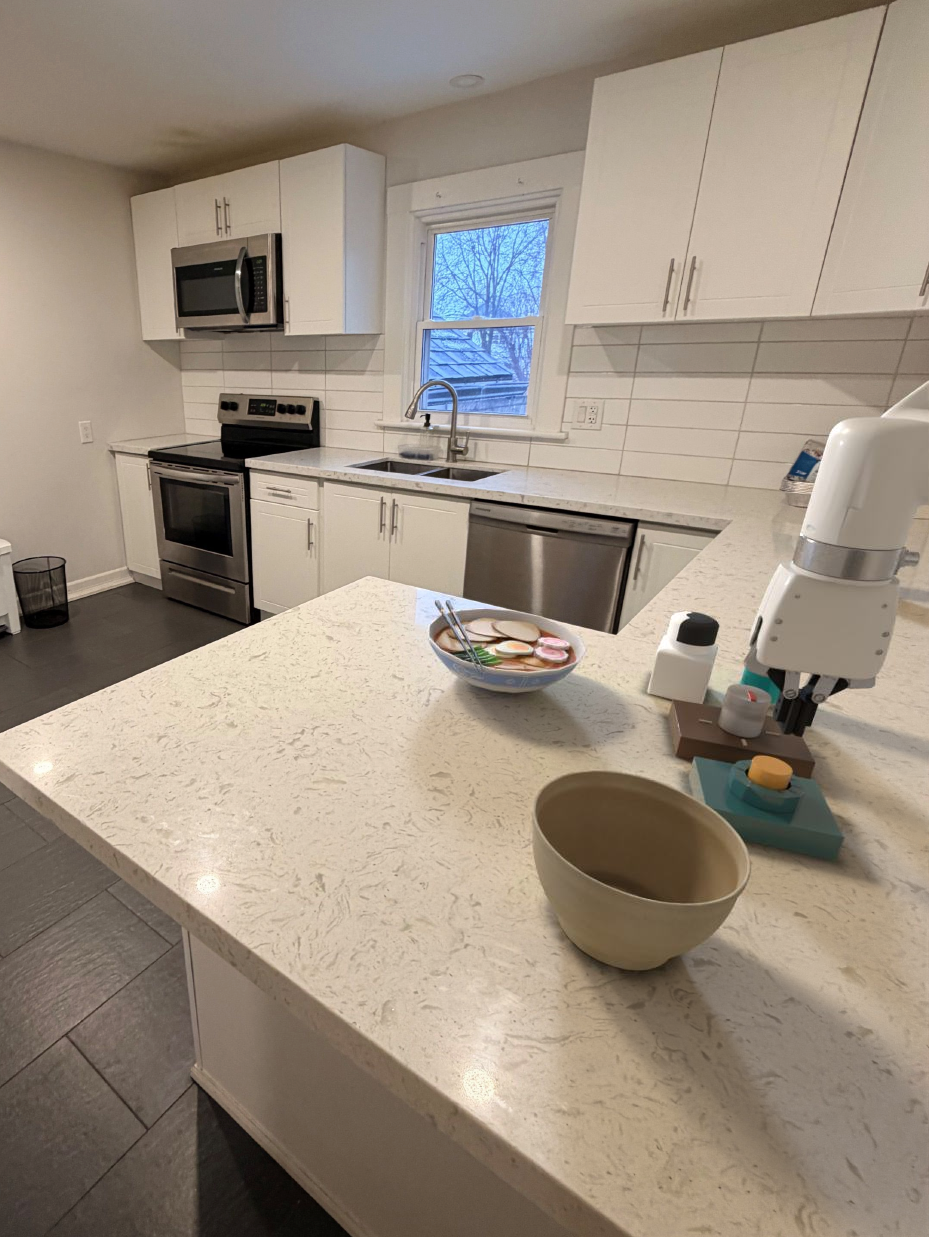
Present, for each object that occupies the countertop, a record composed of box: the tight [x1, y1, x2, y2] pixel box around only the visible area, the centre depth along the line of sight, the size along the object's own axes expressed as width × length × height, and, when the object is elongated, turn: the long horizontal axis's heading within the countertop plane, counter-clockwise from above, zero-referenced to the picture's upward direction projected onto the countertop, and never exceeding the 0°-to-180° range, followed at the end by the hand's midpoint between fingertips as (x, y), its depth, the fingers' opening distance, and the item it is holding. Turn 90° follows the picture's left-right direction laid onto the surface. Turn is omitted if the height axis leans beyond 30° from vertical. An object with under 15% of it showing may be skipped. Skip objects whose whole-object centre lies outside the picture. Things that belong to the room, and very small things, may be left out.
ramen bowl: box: [426, 599, 588, 694], centre depth 99 cm, size 25×23×8 cm
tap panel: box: [667, 699, 817, 779], centre depth 83 cm, size 14×10×3 cm
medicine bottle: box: [647, 611, 720, 704], centre depth 95 cm, size 7×7×12 cm
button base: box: [687, 756, 845, 862], centre depth 71 cm, size 12×10×5 cm
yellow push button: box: [748, 756, 793, 791], centre depth 70 cm, size 4×4×2 cm
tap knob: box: [718, 683, 771, 738], centre depth 82 cm, size 5×5×5 cm
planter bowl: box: [531, 769, 752, 971], centre depth 56 cm, size 16×16×11 cm
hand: (788, 728), depth 68 cm, fingers closed
